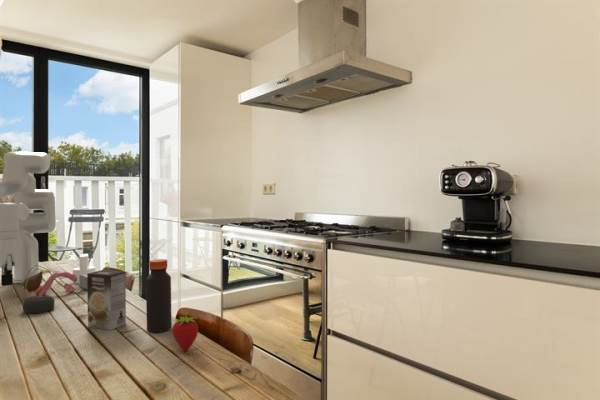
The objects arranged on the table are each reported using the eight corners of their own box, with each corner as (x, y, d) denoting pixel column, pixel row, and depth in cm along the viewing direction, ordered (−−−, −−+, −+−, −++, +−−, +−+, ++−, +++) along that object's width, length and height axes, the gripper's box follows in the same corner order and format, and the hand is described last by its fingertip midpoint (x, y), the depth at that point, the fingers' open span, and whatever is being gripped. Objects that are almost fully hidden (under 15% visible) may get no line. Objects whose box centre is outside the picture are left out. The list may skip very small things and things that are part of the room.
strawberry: (190, 343, 99) (189, 305, 99) (203, 352, 94) (203, 312, 93) (168, 349, 95) (167, 310, 95) (180, 359, 90) (179, 317, 90)
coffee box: (86, 327, 113) (85, 273, 113) (103, 320, 119) (103, 269, 119) (110, 330, 110) (109, 275, 110) (127, 323, 116) (126, 270, 116)
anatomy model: (85, 283, 155) (52, 255, 148) (52, 313, 148) (16, 286, 141) (80, 278, 164) (49, 252, 157) (49, 307, 157) (15, 281, 150)
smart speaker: (57, 310, 131) (57, 298, 131) (26, 316, 124) (26, 304, 124) (50, 305, 137) (50, 294, 137) (20, 311, 130) (20, 299, 130)
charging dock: (79, 286, 166) (79, 273, 166) (84, 285, 167) (84, 273, 167) (91, 291, 155) (91, 278, 155) (96, 291, 157) (96, 277, 157)
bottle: (148, 335, 106) (147, 263, 106) (145, 327, 112) (144, 259, 112) (173, 330, 109) (172, 261, 109) (169, 323, 115) (168, 257, 115)
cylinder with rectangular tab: (74, 280, 178) (73, 254, 178) (96, 278, 182) (95, 253, 182) (72, 284, 170) (71, 257, 170) (94, 282, 174) (94, 255, 174)
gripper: (-10, 235, 145) (-10, 284, 144) (-3, 237, 134) (-3, 289, 134) (14, 234, 150) (15, 281, 150) (23, 236, 140) (23, 286, 140)
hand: (7, 285), depth 142 cm, fingers closed
